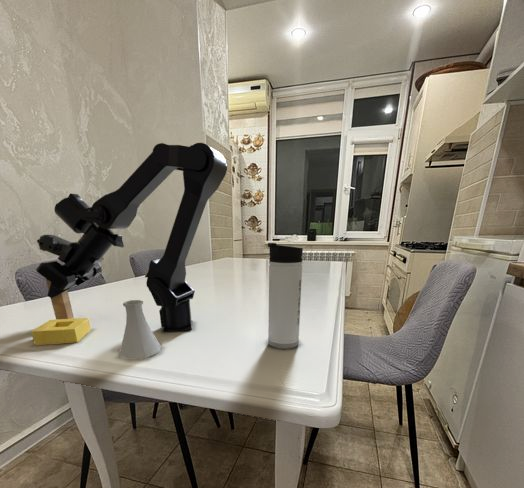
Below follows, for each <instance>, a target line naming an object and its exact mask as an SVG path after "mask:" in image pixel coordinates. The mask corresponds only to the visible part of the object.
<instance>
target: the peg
mask: <svg viewBox="0 0 524 488" xmlns="http://www.w3.org/2000/svg"><path fill="white" fill-rule="evenodd" d="M45 282H46V286H47V289H48V291H49V288H50V284H51V282H50V281H49V280H47V279H46V278H45ZM50 302H51V305H52V309H53V313H54V317H55V320H57V319H75V316H74V312H73V308H72V304H71V300H70V296H69V291H68V290H67V291H65V292H63V293H61V294H59V295H57V296H55V297H53V298H50Z"/></svg>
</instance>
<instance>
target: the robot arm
mask: <svg viewBox="0 0 524 488" xmlns="http://www.w3.org/2000/svg"><path fill="white" fill-rule="evenodd" d="M174 171H182V179H183V185H184V186H183V188H184V189H183V194H182V197H181V200H180V202H179V206H178V209H177V211H176V212H177V213H176V215H175V218H174V222H173V224H172V227H171V231H170V233H169V237H168V240H167V243H166V245H165V249H164V252H163V255H162V257H161V258H158V259H151V260H150V262H149V263H148V271H147V272H146V274H145V276H144V278H146V282H145V283H146V288H148V291H149V292H150V295H151V296H152V298H153V300H154V302H155V305H156V306H157V307H160V309H159V311H158V313H159V321H160V327H161V328H162V332H163V333H167V332H168V333H169V332H181V331H183V332H184V331H192V330H193V320H192V311H191V309H192V308H191V300H193V299H194V296H195V289H194V288H193V287H192V286H190V284H189V283H188V282H187V281H186V277H187V269H186V261H187V258H188V255H189V252H190V249H191V246H192V244H193V241H194V238H195V236H196V233H197V230H198V227H199V225H200V222H201V220H202V216H203V214H204V210H205V208H206V206H207V203H208V201H209V199H210V198H211V197H212V196H213V195H214V194H215V193H216V191H218V189H219V187H220V186H221V184H222V183H223V180H224V178H225V177H226V175H227V171H228V164H227V161H226V158H225V156H224V155H223V154H222V153H221V152H220V151H218V150H217V149H215V148H214V147H212V146H210V145H208V144H207V143H204V142H195V143H193V144H191V145H190V146H188V145H181V144H167V143H164V142H160V143H157V144H155V145H154V147H153V148H152V152H150V154H149V155H148V156H147V157H146V158H145V159H144V160H143V162H141V164H140V165H139V166H137V168H136V169H135V170H134V172H132V174H131V175H130V176H129V177H128V178H127V179H126V180H125V181H124V182H123V183H122V185H121V186H119V188H118V189H116V190H114V191H112V192H110V193H105V194H104V195H103V196H101V197H100V198H98V199H97V200H95V201H94V202H93V203H92V205H91V207H90V205H88V203H86V202H85V200H83V198H82V197H81V196H80V195H79V193H69V194H68V197H64V198H63V199H61V200H60V201H58V202H57V203H56V204H55V205H54V213H55V215H56V216H58V218H60V220H61V221H63V222H64V224H66V225H67V226H68V227H69V228H70V229H71V230H72V231H73V232H74V233H75V234H82V236H80V238H79V239H78V241H77V242H76V241H75V242H74V241H73V242H72V241H70V240H66V239H64V238H63V237H59V236H58V235H55V234H42V235H40V236H39V238H38V239H37V240H36V243H37V244H38V248H39V250H40V251H43V252H47V253H50V254H53V255H54V256H58V257H57V260H58V261H57V260H50V261H43V262H41V263H40V264H39V265H38V266H37V267H36V269H35V271H36V273H38V274H39V275H40V276H42V277H43V278H44V279H45V280H46V279H47V280H49V281H50V282H51V284H50V288H49V290H48V291H47V297H48V298H50V299H51V298H53V297H55V296H57V295H59V294H61V293H63V292H65V291H67V290H68V292H69V291H71V290H73V289H75V288H77V287H79V286H81V285H84V284H85V283H87V282H89V281H90V278H89V277H88V276H89V275H91V274H92V275H91V277H92V278H93V279H95V278H98V277H99V276H100V275H101V274H102V272H103V270H102V266H101V265H99V263H101V262H103V261H104V256H105V255H106V254H107V253H108V251H109V250H110V249H111V248H112V246H114V247H117V248H121V249H123V248H124V247H125V244H124V240H123V235H121V234H118V233H115V232H114V231H112V230H126V229H128V228H129V227H130V226H131V225H132V223H133V221H134V220H135V218H137V213H138V208H139V207H141V204H142V203H144V202H145V200H146V199H147V198H148V197H150V196H151V194H152V193H153V192H154V191H155V190H156V189H157V188H158V187H159V186H160V185H161V184H162V183H163V182H164V181H165V180H166V179H167V178H168V177H169V176H171V174H172V173H174ZM59 261H60V262H61V263H63V264H61V263H60V262H59Z"/></svg>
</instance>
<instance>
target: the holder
mask: <svg viewBox="0 0 524 488" xmlns="http://www.w3.org/2000/svg"><path fill="white" fill-rule="evenodd" d="M91 330H92V327H91V324H90V319H89V317H79V318H78V317H77V318H75V317H74V319H57V320H56V319H50V320H47V321H46V322H44V323H43V324H41V325H39V326H38V327H36V328H35V329H33V330H31V332H30V333H31V336H32V340H33V343H34V345H35V346H43V345H57V344H58V345H60V344H72V343H79V342H80V341H81V340H82V339H83V338H84V337H85V336H86V335H87V334H89V333H90V331H91Z"/></svg>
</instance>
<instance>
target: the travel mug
mask: <svg viewBox="0 0 524 488" xmlns="http://www.w3.org/2000/svg"><path fill="white" fill-rule="evenodd" d="M267 247H268V248H269V260H268V264H269V265H268V330H267V331H268V332H267V333H268V337H267V338H268V339H267V340H268V345H269V346H271V347H273V348H275V349H280V350H289V349H293V348H296V347H297V346H298V345H299V342H300V338H299V336H300V324H301V323H300V322H301V321H300V320H301V302H302V301H301V299H302V282H303V261H304V260H303V255H304V254H303V253H304V248H303V247H296V246H290V245H289V246H288V245H280V244H277V243H276V242H267Z"/></svg>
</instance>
